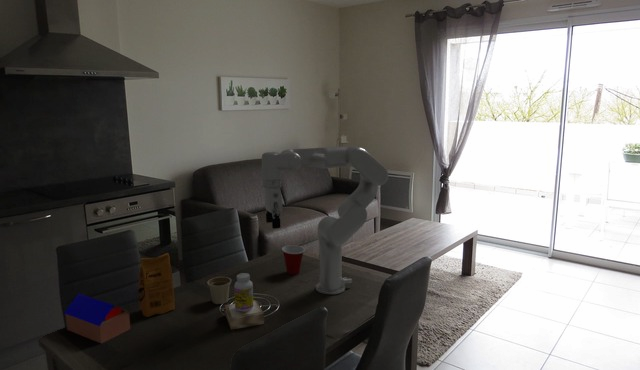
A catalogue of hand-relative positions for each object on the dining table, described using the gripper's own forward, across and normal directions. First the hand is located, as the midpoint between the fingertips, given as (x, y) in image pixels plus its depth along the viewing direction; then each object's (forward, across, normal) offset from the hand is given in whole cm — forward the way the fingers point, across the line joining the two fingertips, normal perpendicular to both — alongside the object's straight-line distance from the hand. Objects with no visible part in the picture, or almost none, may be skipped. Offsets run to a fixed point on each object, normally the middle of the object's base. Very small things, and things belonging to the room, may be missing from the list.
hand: (273, 225), depth 181 cm
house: (+31, -4, +66) cm, 73 cm away
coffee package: (+31, +4, +46) cm, 55 cm away
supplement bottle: (+26, -16, +16) cm, 35 cm away
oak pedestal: (+30, -16, +16) cm, 38 cm away
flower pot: (+31, +3, +22) cm, 38 cm away
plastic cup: (+31, +22, -15) cm, 40 cm away
